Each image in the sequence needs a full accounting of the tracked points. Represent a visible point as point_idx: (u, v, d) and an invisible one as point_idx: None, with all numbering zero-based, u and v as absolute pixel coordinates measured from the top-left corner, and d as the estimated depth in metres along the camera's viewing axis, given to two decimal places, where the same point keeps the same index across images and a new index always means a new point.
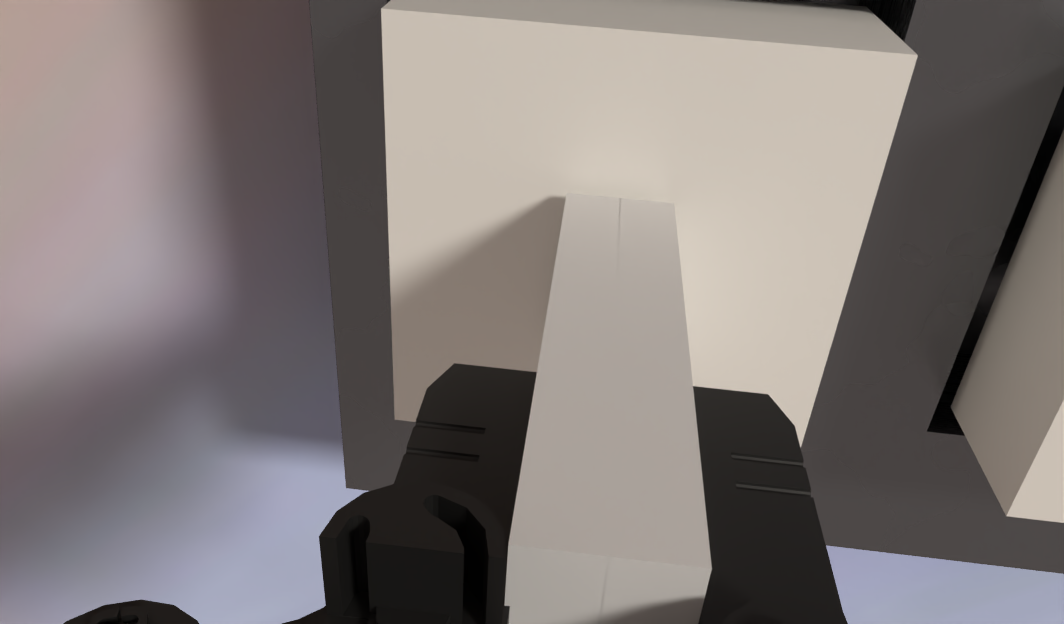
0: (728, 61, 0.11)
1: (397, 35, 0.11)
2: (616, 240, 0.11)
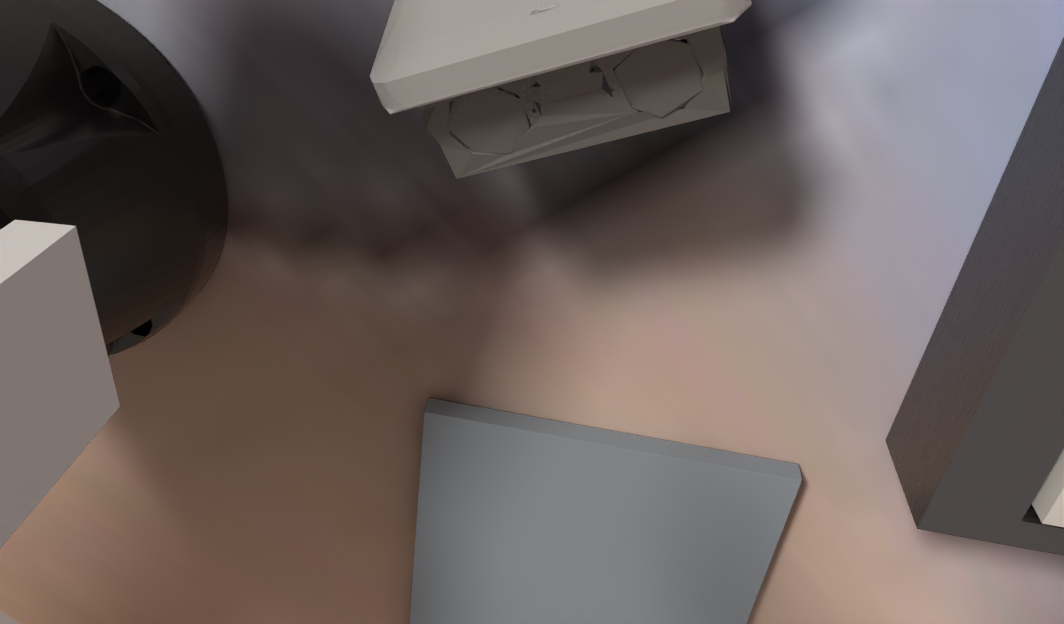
0: None
1: (1054, 521, 0.29)
2: None
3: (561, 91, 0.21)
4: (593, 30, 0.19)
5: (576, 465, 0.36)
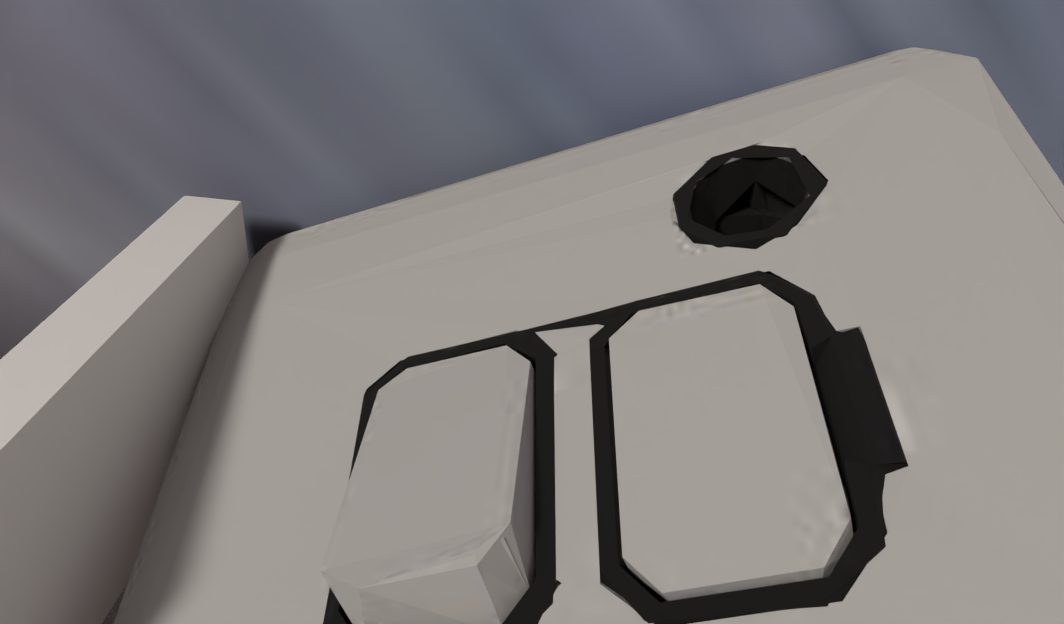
0: None
1: None
2: None
3: None
4: None
5: None
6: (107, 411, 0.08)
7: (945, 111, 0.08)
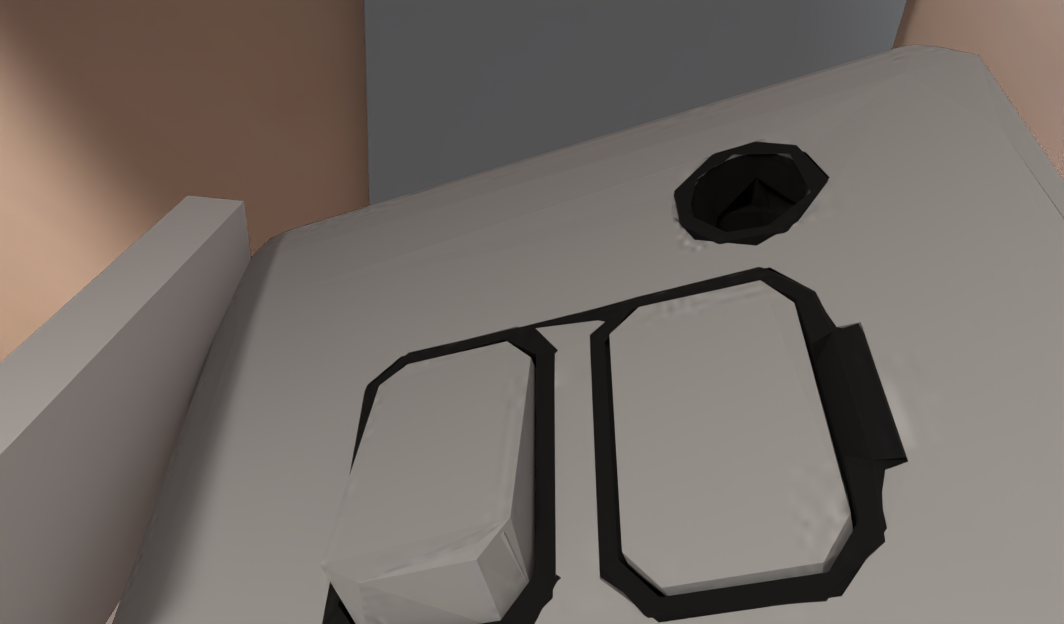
0: None
1: None
2: None
3: None
4: None
5: None
6: (111, 410, 0.08)
7: (946, 108, 0.08)
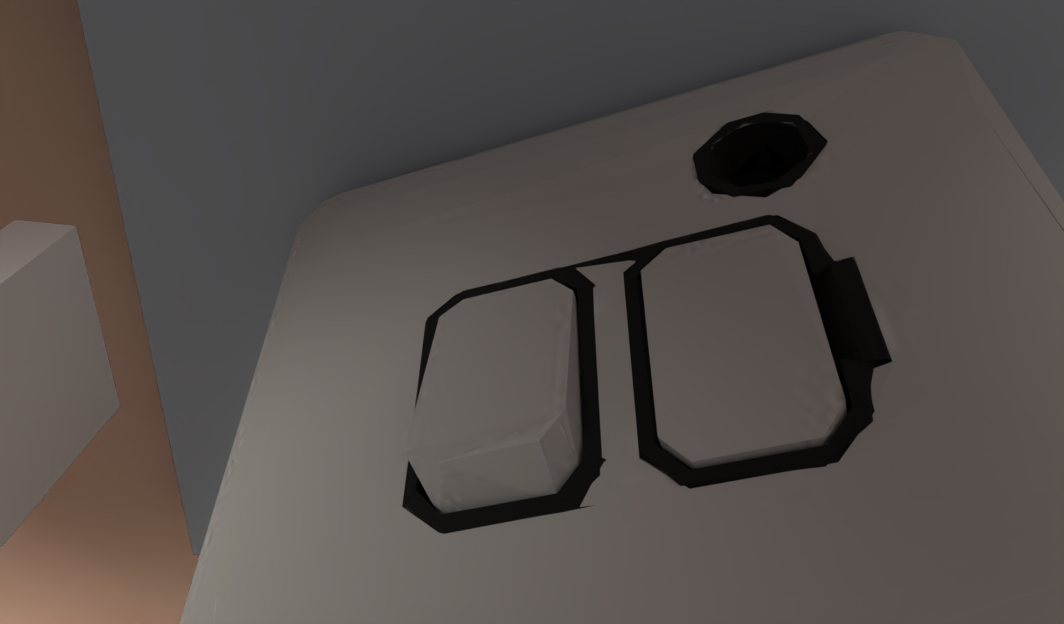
0: None
1: None
2: None
3: None
4: None
5: None
6: None
7: (928, 83, 0.10)
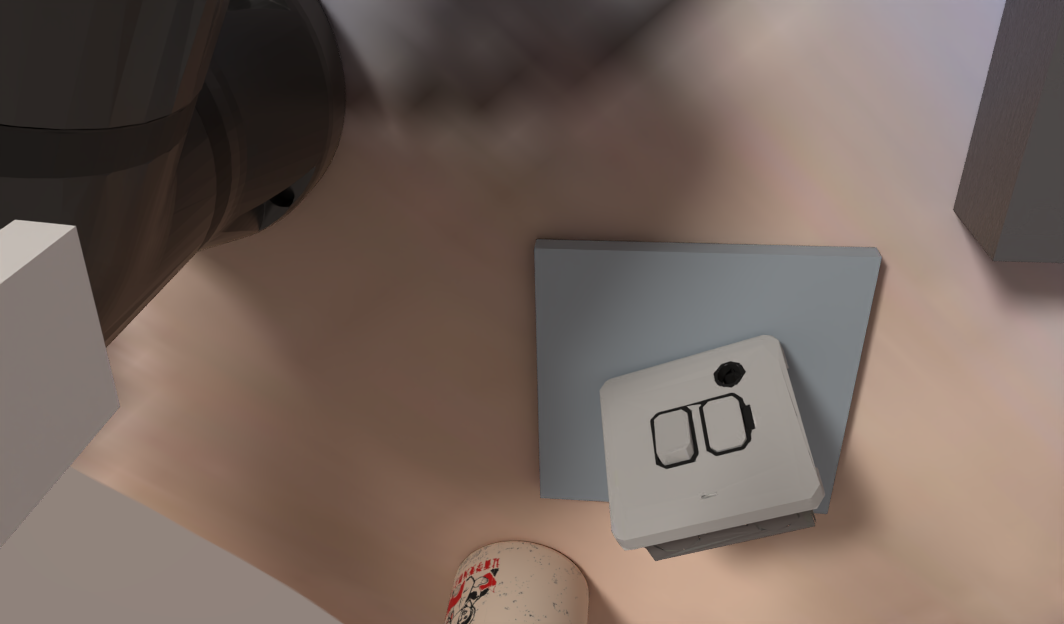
0: None
1: None
2: None
3: None
4: (740, 516, 0.36)
5: (675, 278, 0.40)
6: None
7: (769, 355, 0.40)
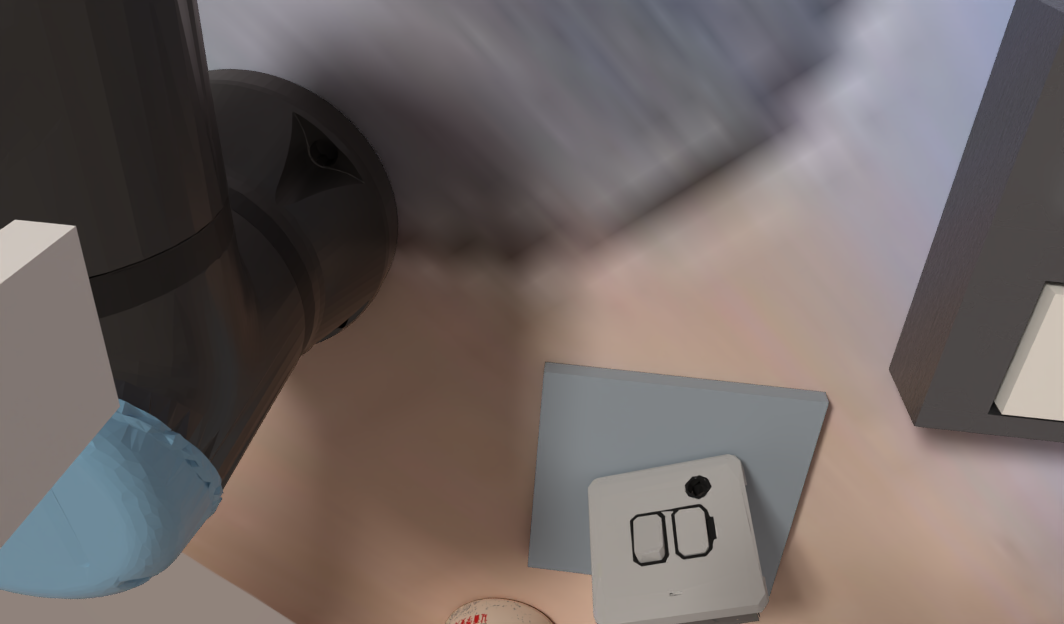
0: (1042, 337, 0.39)
1: (1010, 411, 0.41)
2: None
3: None
4: (700, 613, 0.44)
5: (659, 404, 0.49)
6: None
7: (732, 474, 0.48)
